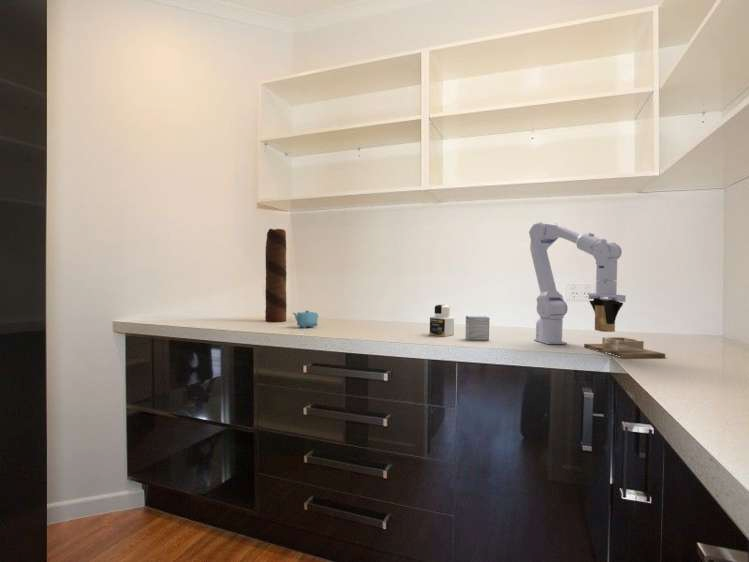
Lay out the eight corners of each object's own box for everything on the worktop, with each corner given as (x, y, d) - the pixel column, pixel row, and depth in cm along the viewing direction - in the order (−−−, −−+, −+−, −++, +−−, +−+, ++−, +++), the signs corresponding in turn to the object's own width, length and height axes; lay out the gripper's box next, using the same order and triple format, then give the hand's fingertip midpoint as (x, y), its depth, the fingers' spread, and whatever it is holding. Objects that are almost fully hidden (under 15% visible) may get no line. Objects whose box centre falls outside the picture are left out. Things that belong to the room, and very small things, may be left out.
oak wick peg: (594, 330, 131) (595, 305, 131) (606, 330, 132) (606, 305, 132) (603, 331, 127) (603, 306, 127) (614, 331, 128) (615, 306, 128)
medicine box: (485, 338, 155) (486, 316, 154) (489, 340, 150) (489, 317, 150) (465, 338, 154) (465, 315, 154) (468, 340, 150) (468, 317, 150)
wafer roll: (266, 322, 192) (267, 227, 191) (263, 320, 202) (264, 230, 201) (288, 322, 196) (289, 229, 195) (284, 319, 206) (285, 231, 205)
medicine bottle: (429, 334, 163) (429, 304, 162) (439, 333, 168) (439, 304, 168) (444, 336, 158) (444, 306, 158) (454, 334, 163) (454, 305, 163)
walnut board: (584, 347, 138) (584, 335, 138) (621, 347, 140) (621, 334, 140) (623, 358, 121) (623, 344, 121) (665, 357, 123) (665, 343, 122)
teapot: (293, 329, 173) (293, 311, 173) (289, 327, 178) (289, 310, 178) (320, 327, 178) (320, 310, 178) (315, 326, 184) (315, 309, 184)
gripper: (580, 280, 136) (579, 320, 136) (610, 280, 122) (609, 325, 122) (599, 280, 137) (598, 320, 137) (632, 281, 122) (631, 325, 123)
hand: (605, 323), depth 129 cm, fingers closed on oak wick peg, 4 cm apart
